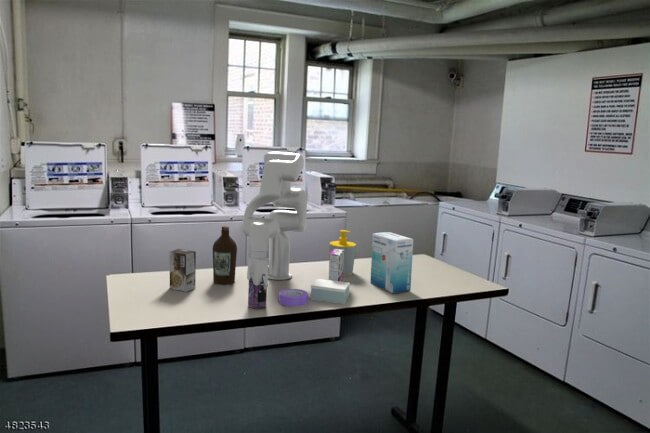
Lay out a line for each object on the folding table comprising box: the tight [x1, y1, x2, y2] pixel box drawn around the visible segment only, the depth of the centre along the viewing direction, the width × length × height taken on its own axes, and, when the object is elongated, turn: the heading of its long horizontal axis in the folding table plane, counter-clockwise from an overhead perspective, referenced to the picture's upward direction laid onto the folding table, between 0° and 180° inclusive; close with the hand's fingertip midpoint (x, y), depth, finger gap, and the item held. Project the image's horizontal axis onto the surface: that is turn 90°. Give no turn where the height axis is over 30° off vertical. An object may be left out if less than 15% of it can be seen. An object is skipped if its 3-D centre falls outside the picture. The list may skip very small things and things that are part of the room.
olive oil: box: [212, 225, 238, 286], centre depth 225 cm, size 11×11×25 cm
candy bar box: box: [328, 249, 344, 282], centre depth 227 cm, size 11×5×16 cm, turn 168°
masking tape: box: [278, 288, 309, 307], centre depth 206 cm, size 12×12×4 cm
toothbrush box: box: [370, 231, 414, 294], centre depth 231 cm, size 18×10×24 cm, turn 30°
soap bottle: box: [329, 229, 357, 277], centre depth 251 cm, size 13×13×21 cm
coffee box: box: [168, 248, 197, 293], centre depth 214 cm, size 9×6×16 cm
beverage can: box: [247, 277, 268, 309], centre depth 197 cm, size 7×7×12 cm
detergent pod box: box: [310, 278, 351, 305], centre depth 213 cm, size 14×10×6 cm
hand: (257, 298), depth 198 cm, fingers closed on beverage can, 7 cm apart
